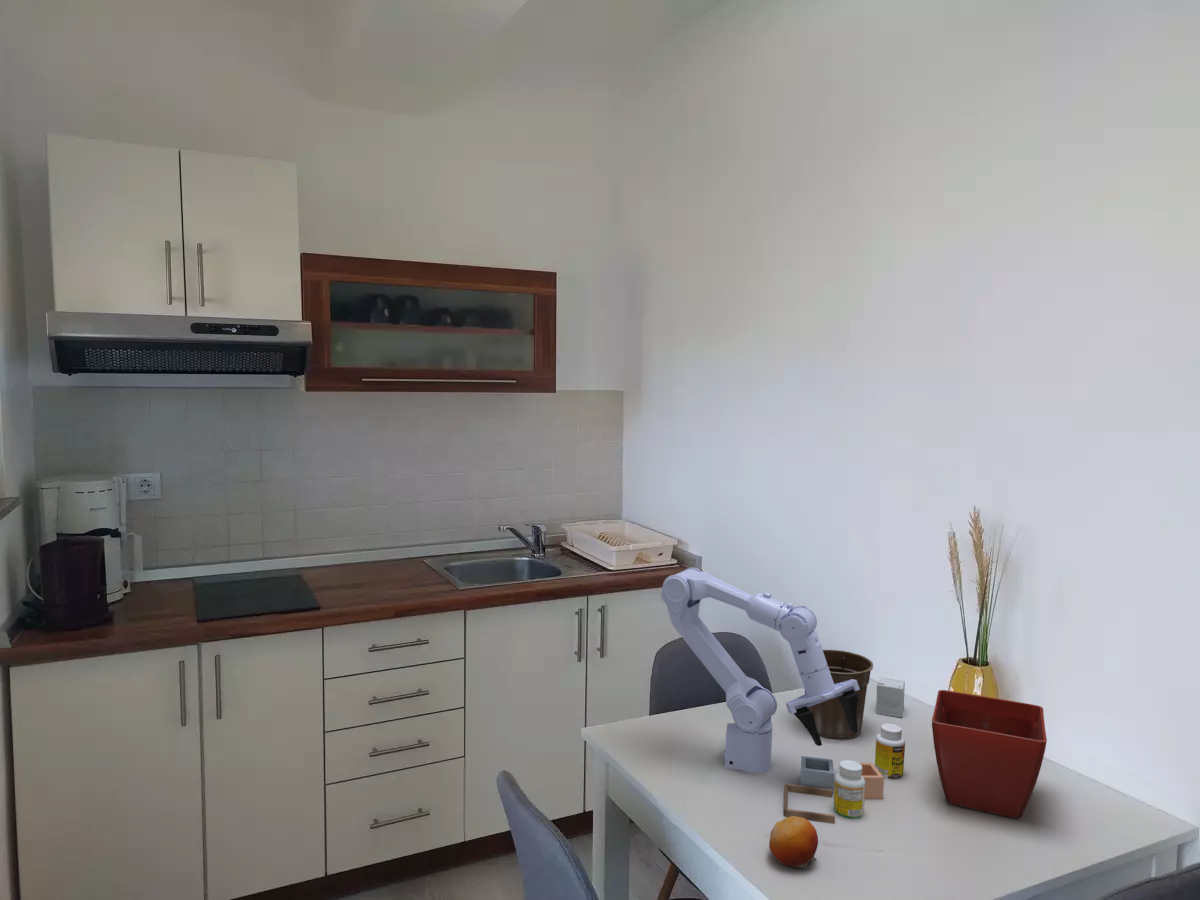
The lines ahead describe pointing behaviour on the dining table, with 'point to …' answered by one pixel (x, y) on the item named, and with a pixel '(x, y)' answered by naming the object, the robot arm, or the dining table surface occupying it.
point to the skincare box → (890, 697)
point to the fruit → (793, 841)
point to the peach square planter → (872, 781)
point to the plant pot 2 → (988, 751)
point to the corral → (805, 814)
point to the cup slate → (817, 772)
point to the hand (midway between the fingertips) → (836, 738)
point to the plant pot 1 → (831, 711)
